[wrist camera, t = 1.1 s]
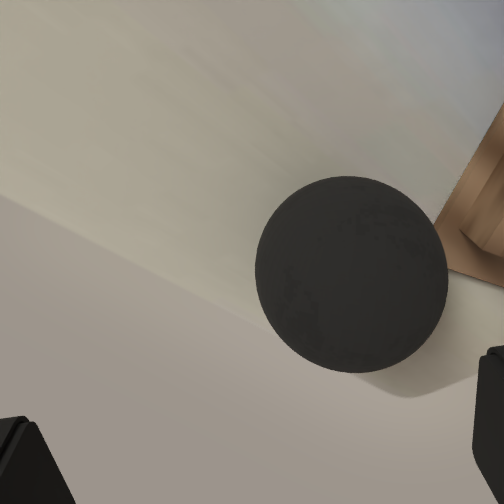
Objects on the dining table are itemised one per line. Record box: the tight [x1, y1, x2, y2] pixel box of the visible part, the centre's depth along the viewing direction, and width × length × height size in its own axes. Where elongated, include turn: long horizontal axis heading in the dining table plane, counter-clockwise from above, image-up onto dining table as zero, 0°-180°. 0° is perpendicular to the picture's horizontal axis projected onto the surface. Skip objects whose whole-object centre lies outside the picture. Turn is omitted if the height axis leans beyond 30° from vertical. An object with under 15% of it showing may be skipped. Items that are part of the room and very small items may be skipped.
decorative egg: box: [255, 176, 448, 373], centre depth 32 cm, size 12×12×15 cm
